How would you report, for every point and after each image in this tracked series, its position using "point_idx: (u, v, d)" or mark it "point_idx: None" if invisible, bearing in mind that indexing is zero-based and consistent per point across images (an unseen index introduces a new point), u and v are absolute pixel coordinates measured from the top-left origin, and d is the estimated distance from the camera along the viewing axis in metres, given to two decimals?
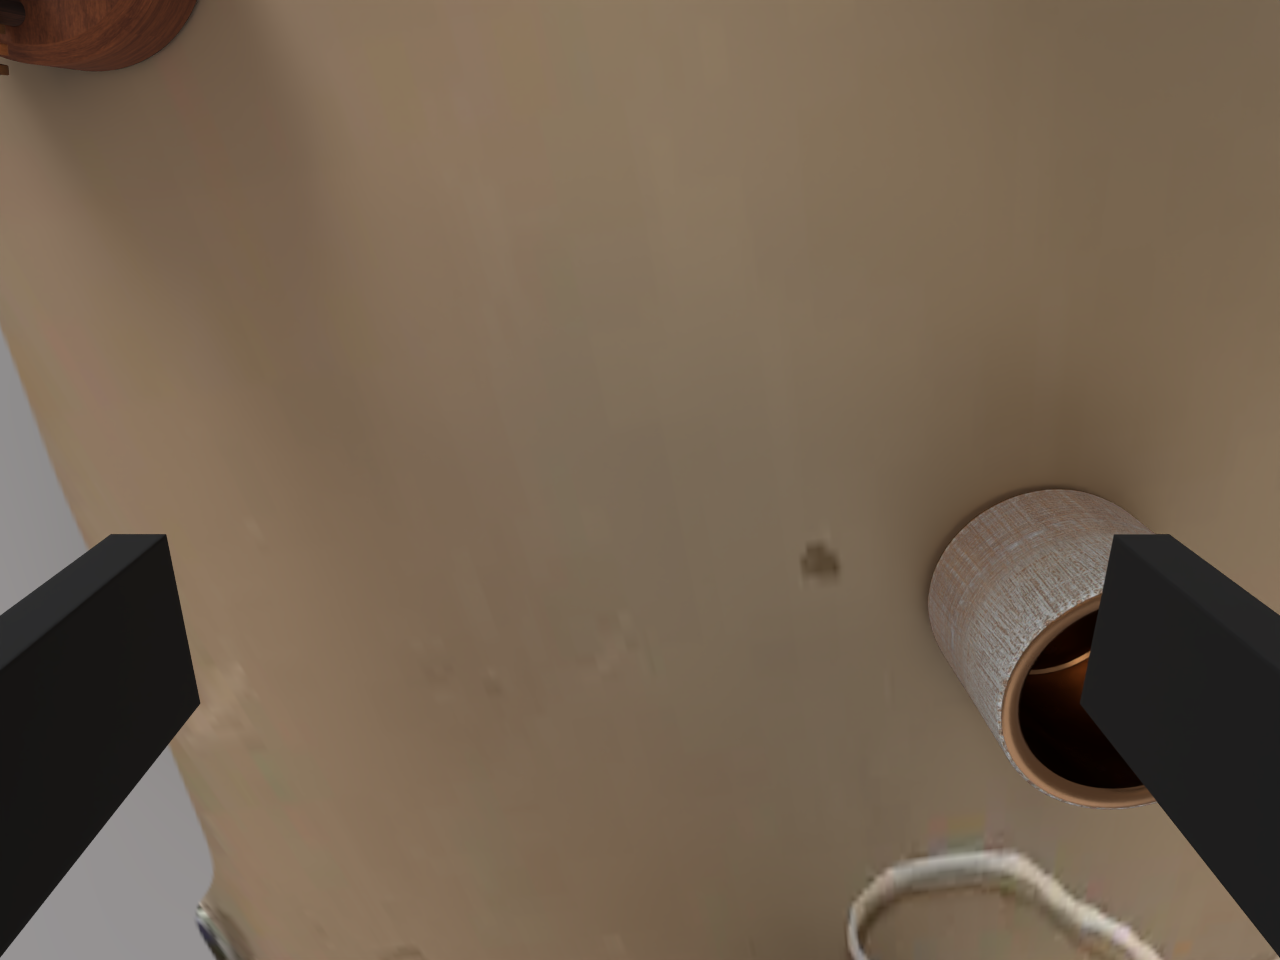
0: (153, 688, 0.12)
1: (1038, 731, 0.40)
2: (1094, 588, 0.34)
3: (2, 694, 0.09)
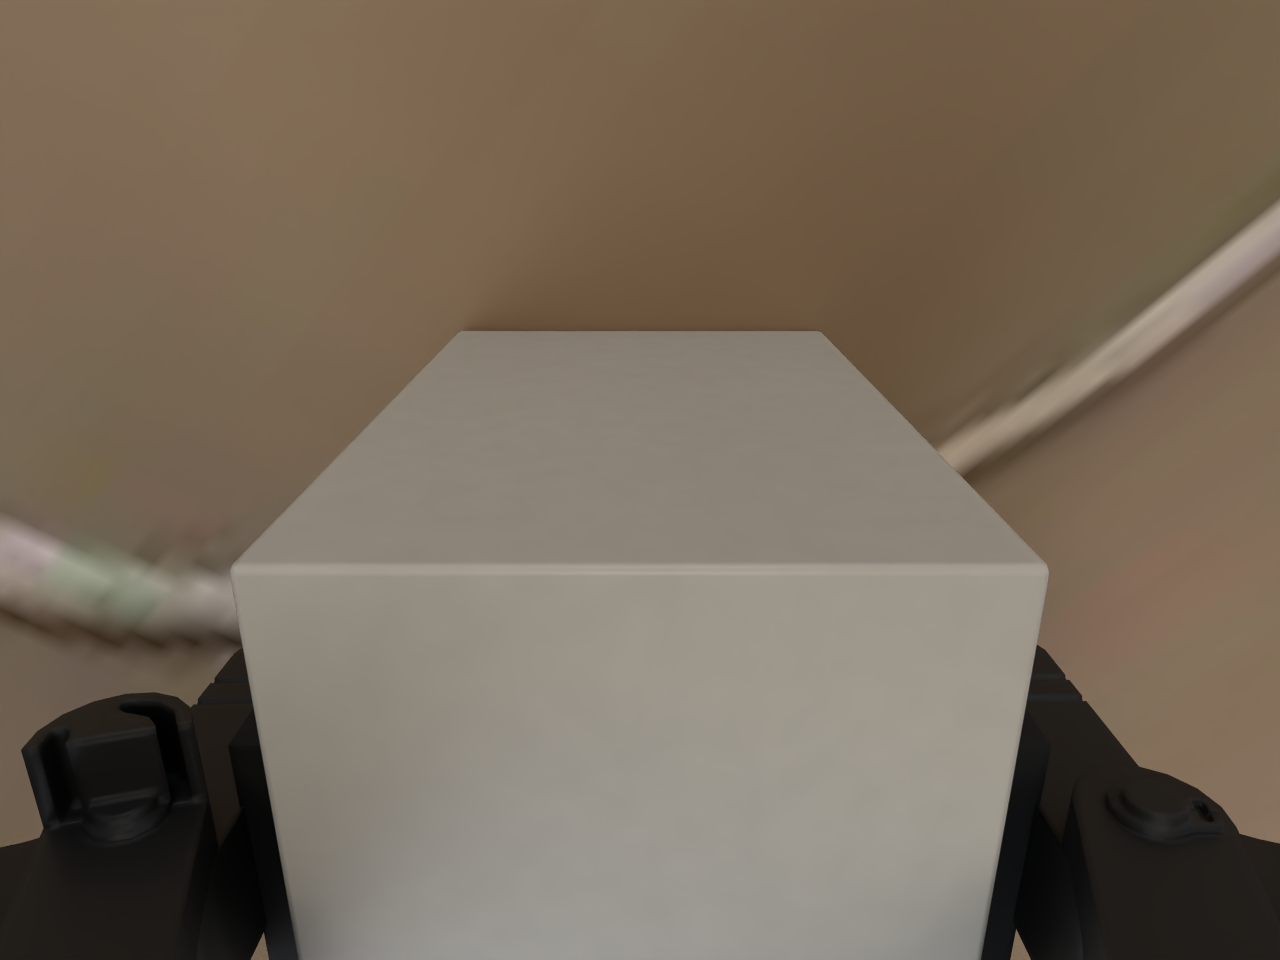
0: None
1: None
2: None
3: None
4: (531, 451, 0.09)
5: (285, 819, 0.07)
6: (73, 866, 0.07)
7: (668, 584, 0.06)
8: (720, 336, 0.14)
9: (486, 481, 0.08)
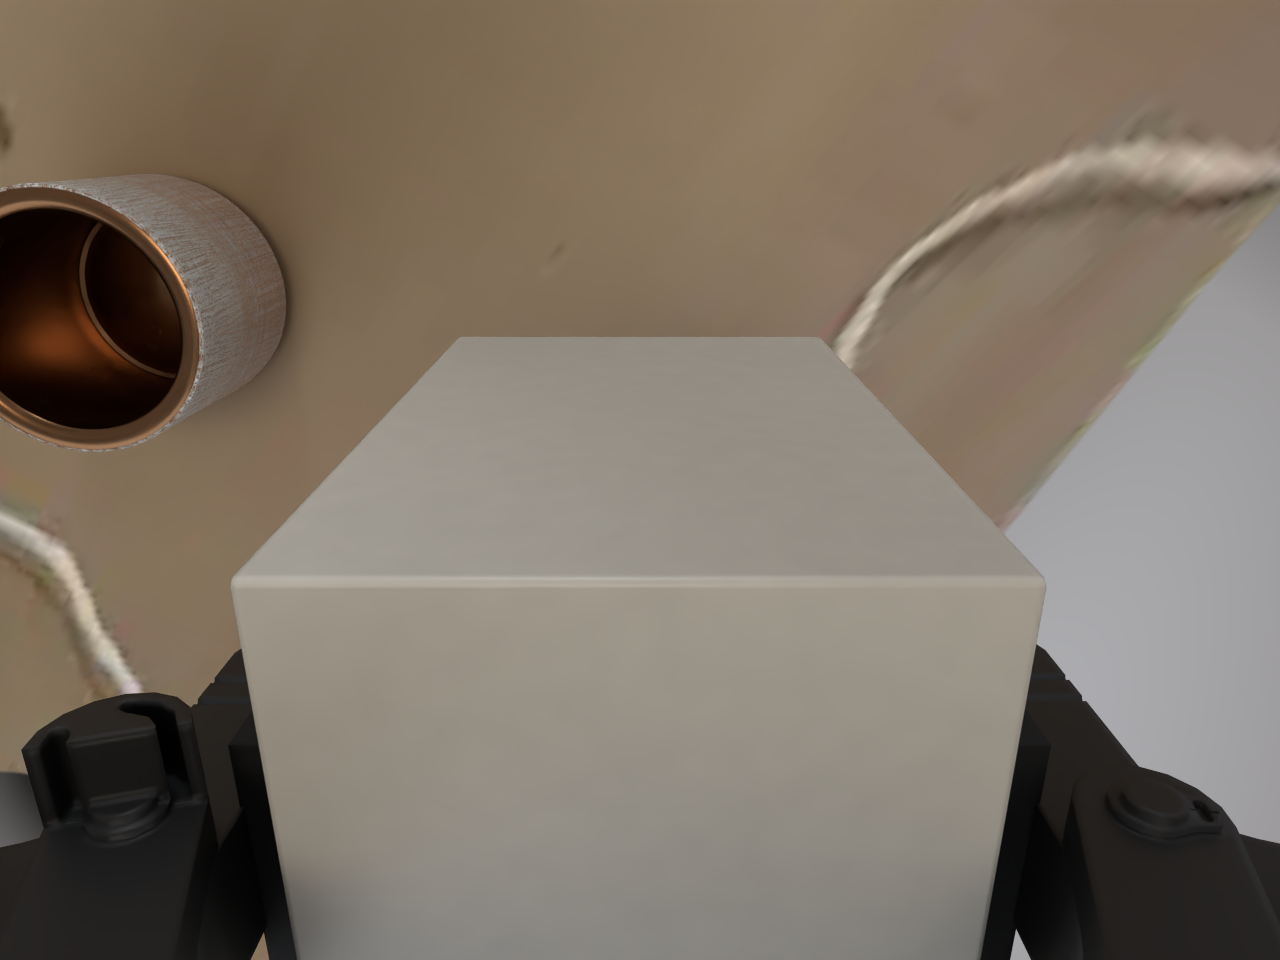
0: None
1: (36, 357, 0.39)
2: (69, 186, 0.34)
3: None
4: (529, 461, 0.09)
5: (285, 829, 0.07)
6: (73, 866, 0.07)
7: (668, 597, 0.06)
8: (720, 342, 0.14)
9: (486, 491, 0.08)
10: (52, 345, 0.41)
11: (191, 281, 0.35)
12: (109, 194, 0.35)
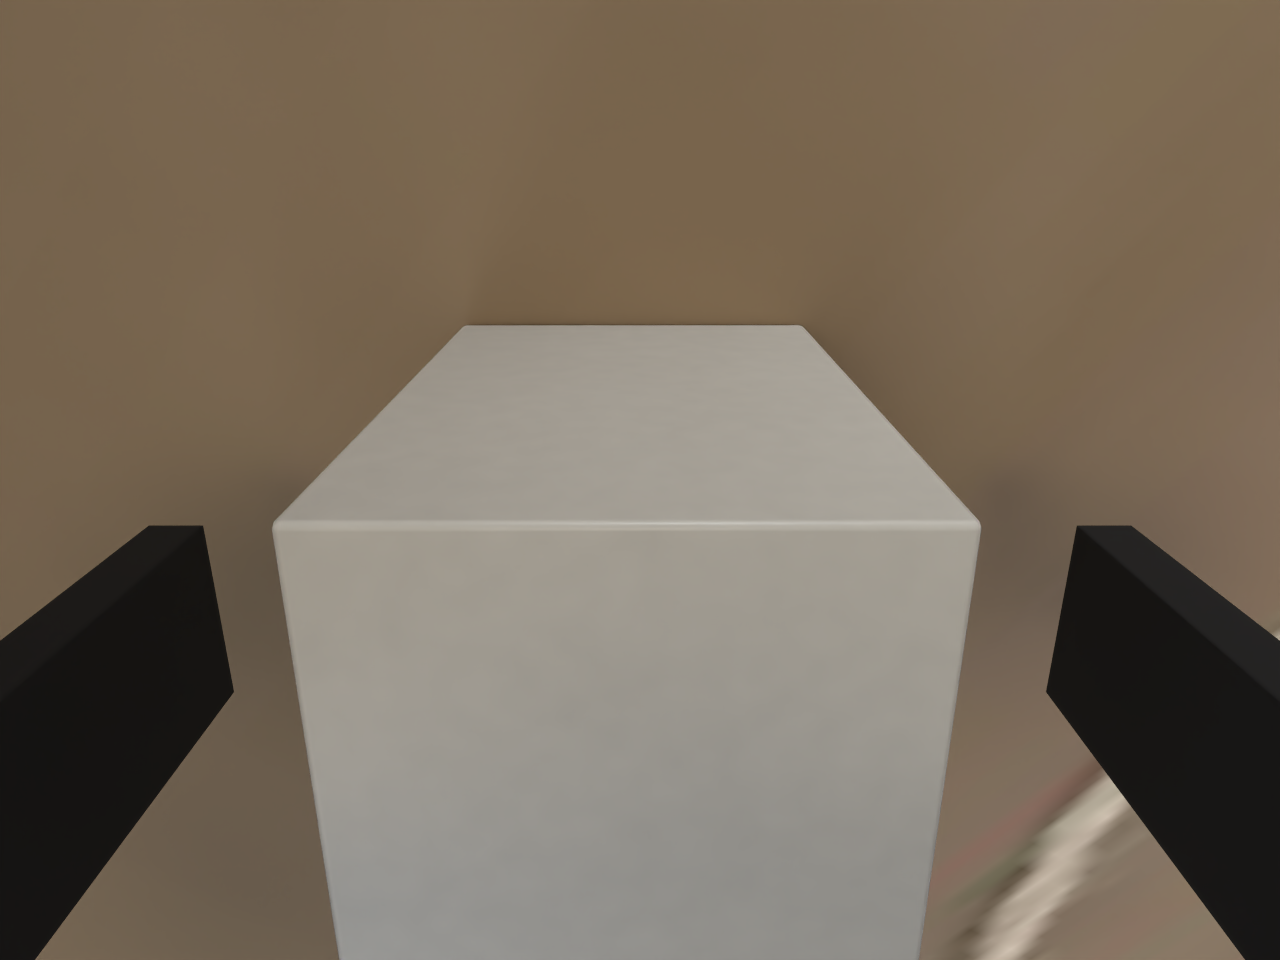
0: (191, 676, 0.12)
1: None
2: None
3: (56, 678, 0.09)
4: (532, 430, 0.09)
5: (316, 749, 0.08)
6: None
7: (652, 538, 0.07)
8: (708, 331, 0.15)
9: (492, 454, 0.09)
10: None
11: None
12: None
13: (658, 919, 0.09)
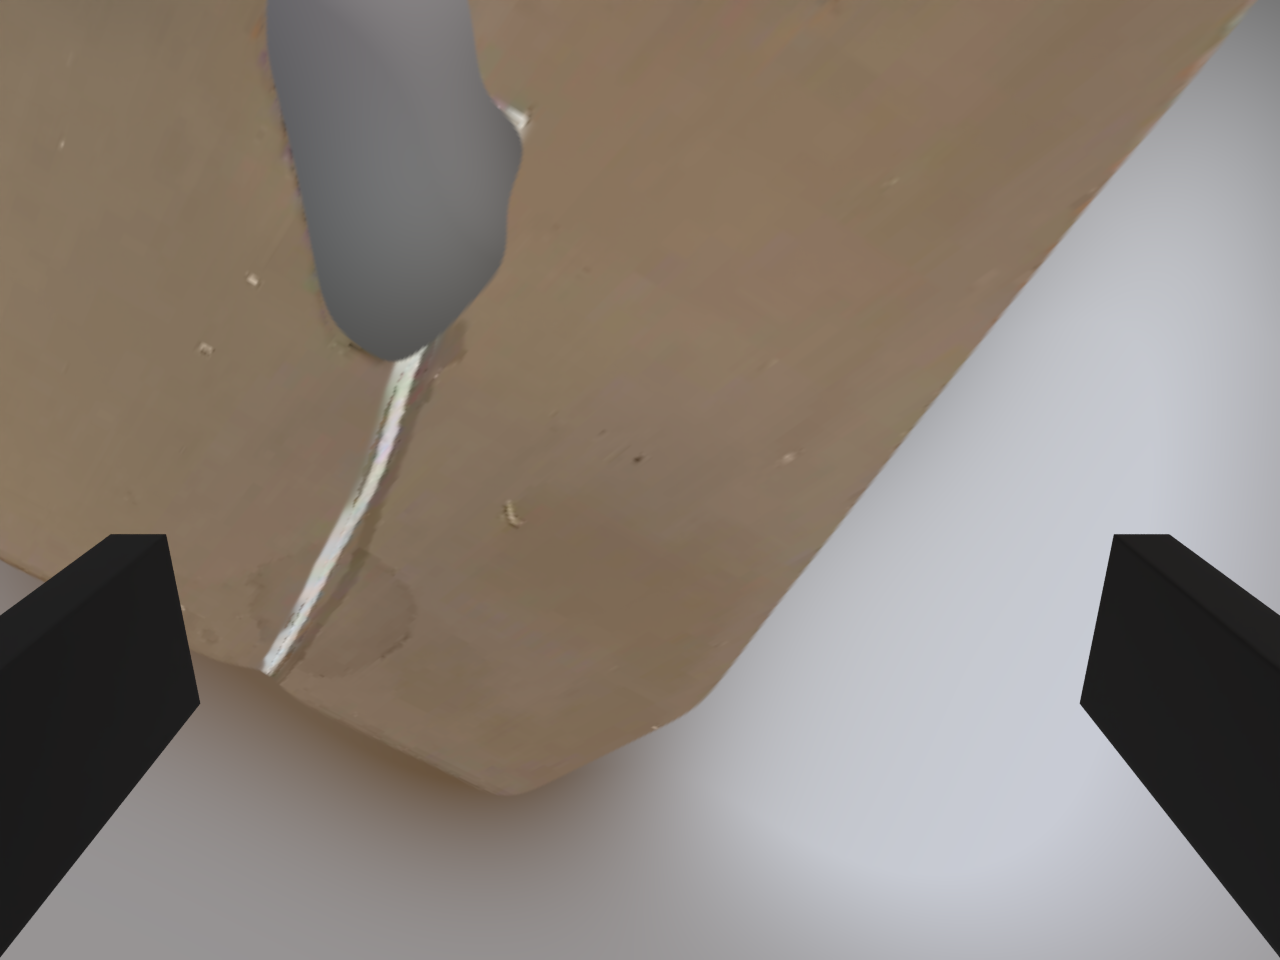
0: (153, 688, 0.12)
1: None
2: None
3: (2, 694, 0.09)
4: None
5: None
6: None
7: None
8: None
9: None
10: None
11: None
12: None
13: None
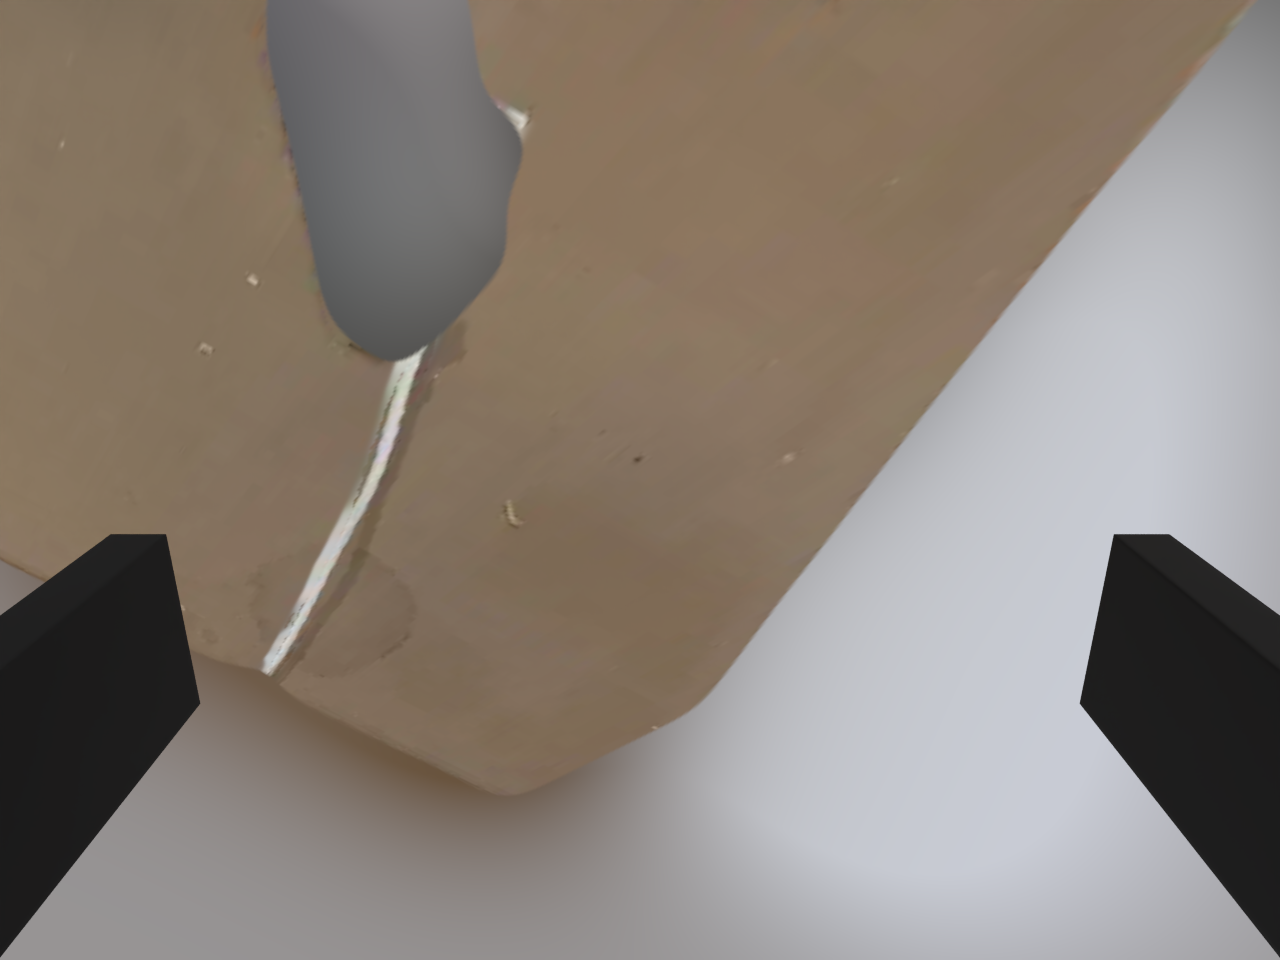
0: (153, 688, 0.12)
1: None
2: None
3: (2, 694, 0.09)
4: None
5: None
6: None
7: None
8: None
9: None
10: None
11: None
12: None
13: None
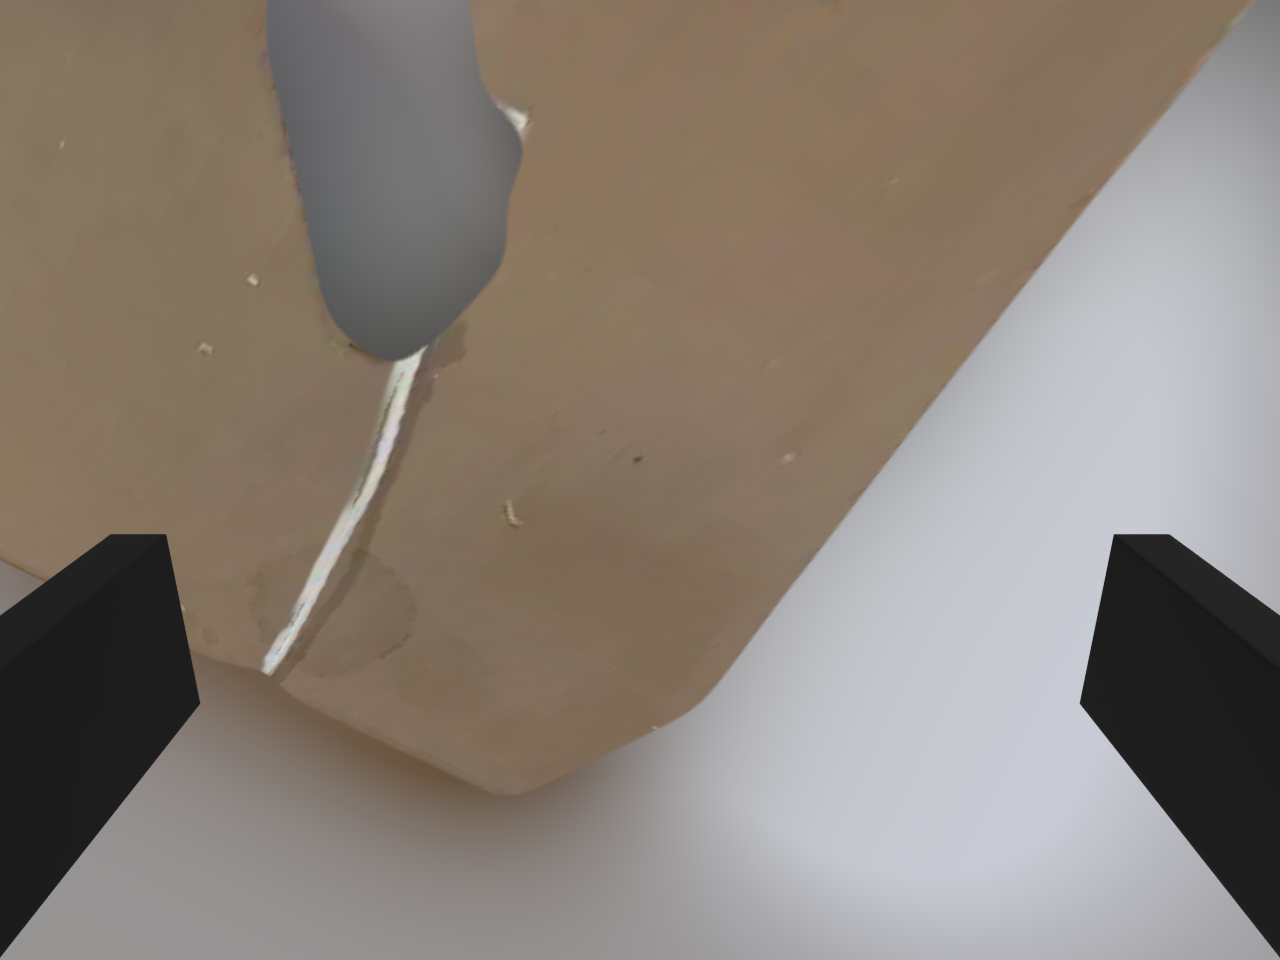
0: (153, 688, 0.12)
1: None
2: None
3: (2, 694, 0.09)
4: None
5: None
6: None
7: None
8: None
9: None
10: None
11: None
12: None
13: None
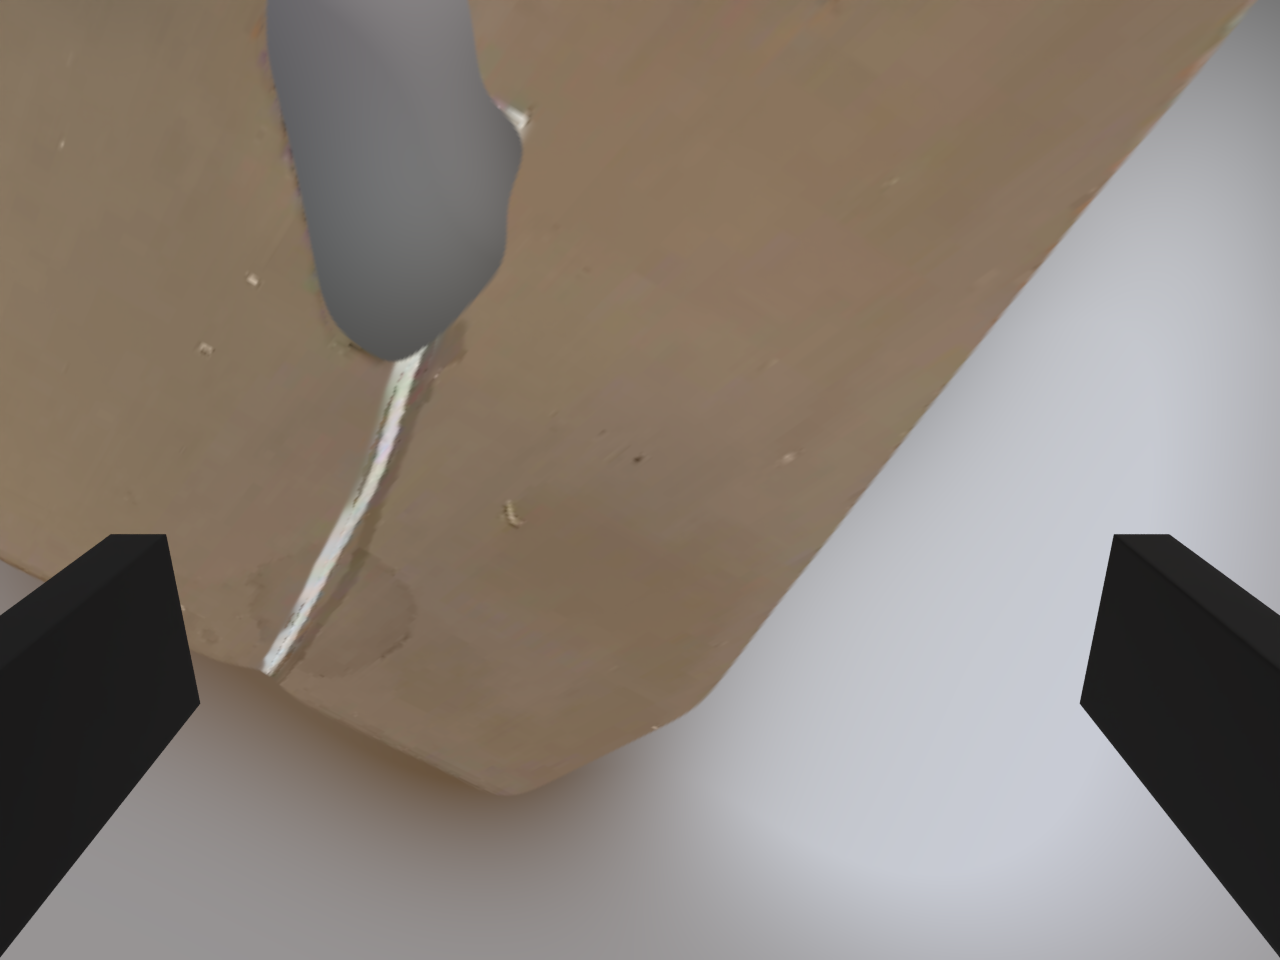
0: (153, 688, 0.12)
1: None
2: None
3: (2, 694, 0.09)
4: None
5: None
6: None
7: None
8: None
9: None
10: None
11: None
12: None
13: None
